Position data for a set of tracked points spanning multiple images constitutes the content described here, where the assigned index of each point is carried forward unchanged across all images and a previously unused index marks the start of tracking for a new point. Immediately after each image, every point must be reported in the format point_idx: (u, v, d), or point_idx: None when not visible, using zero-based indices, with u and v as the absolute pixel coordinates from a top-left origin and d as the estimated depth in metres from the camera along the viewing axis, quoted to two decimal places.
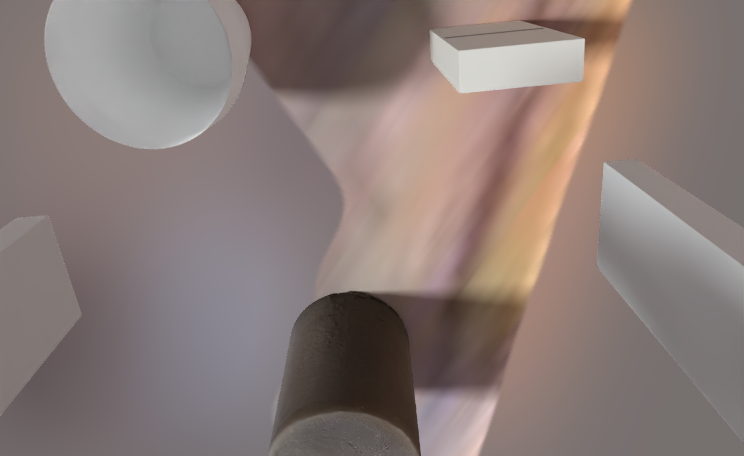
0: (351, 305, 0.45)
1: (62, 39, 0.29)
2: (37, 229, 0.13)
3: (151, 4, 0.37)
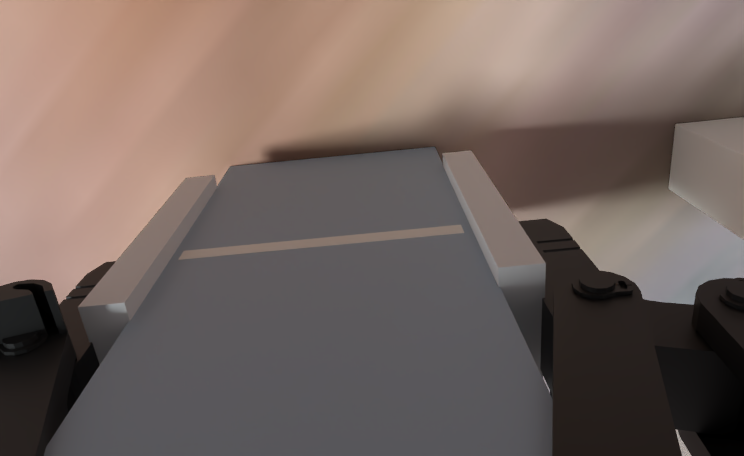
0: None
1: None
2: (210, 185, 0.15)
3: None
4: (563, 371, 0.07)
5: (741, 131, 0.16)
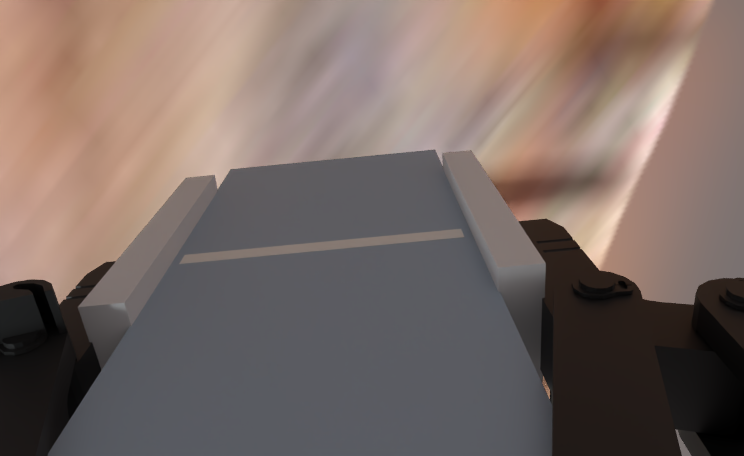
0: None
1: None
2: (210, 185, 0.15)
3: None
4: (563, 371, 0.07)
5: None
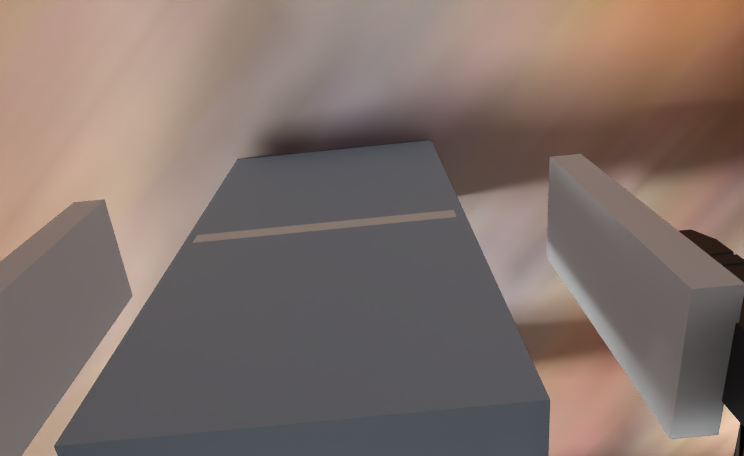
0: None
1: None
2: (95, 212, 0.14)
3: None
4: None
5: None
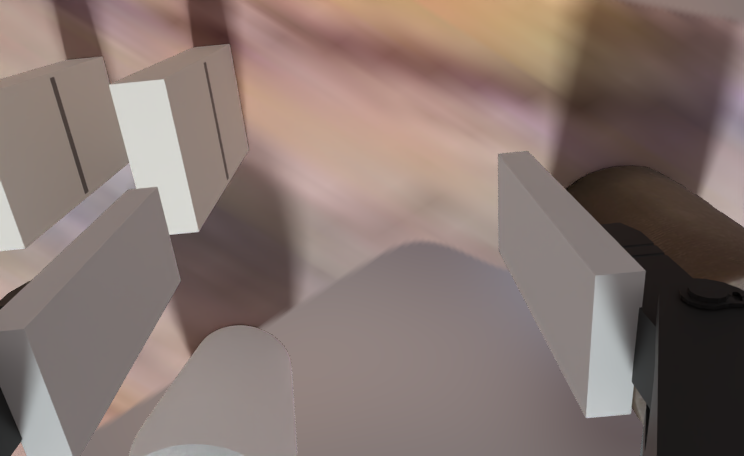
0: None
1: None
2: (151, 198, 0.14)
3: None
4: (669, 381, 0.07)
5: None
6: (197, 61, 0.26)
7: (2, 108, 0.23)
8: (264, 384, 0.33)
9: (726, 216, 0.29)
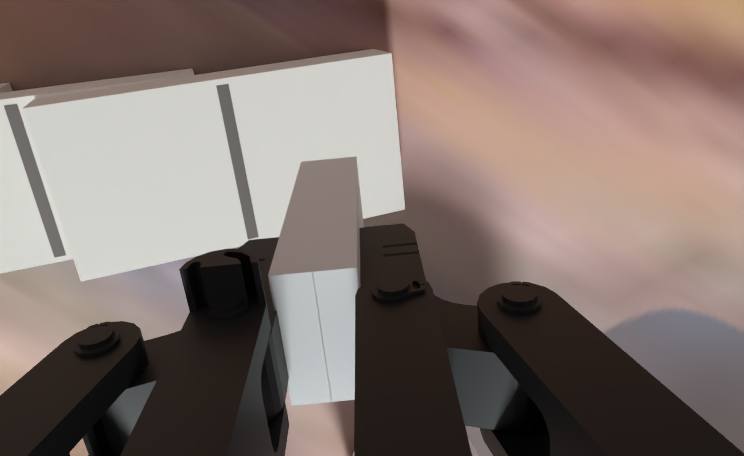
0: None
1: None
2: (328, 169, 0.15)
3: None
4: (364, 378, 0.07)
5: None
6: (188, 84, 0.19)
7: None
8: None
9: None
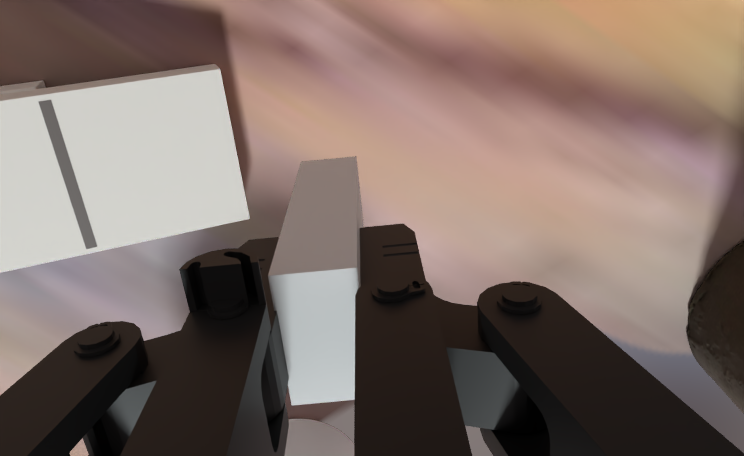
0: (714, 324, 0.27)
1: None
2: (328, 169, 0.15)
3: None
4: (364, 377, 0.07)
5: None
6: (8, 100, 0.20)
7: None
8: None
9: None
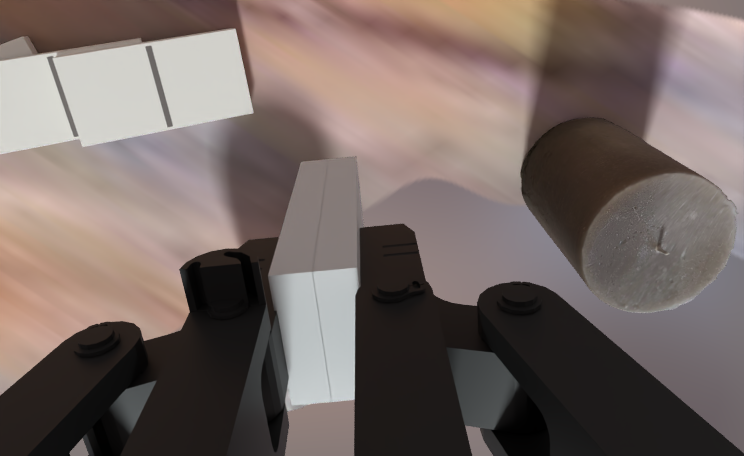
0: (529, 179, 0.46)
1: None
2: (328, 169, 0.15)
3: None
4: (364, 377, 0.07)
5: None
6: (131, 45, 0.40)
7: None
8: None
9: None
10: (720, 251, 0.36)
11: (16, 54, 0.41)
